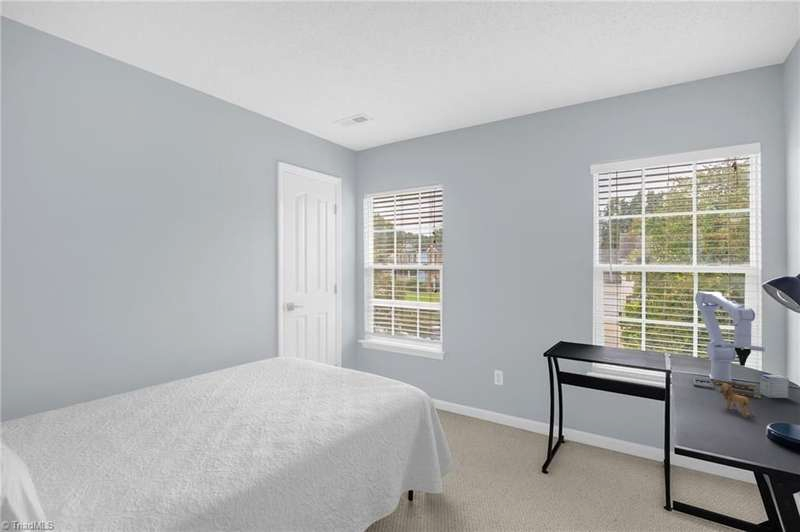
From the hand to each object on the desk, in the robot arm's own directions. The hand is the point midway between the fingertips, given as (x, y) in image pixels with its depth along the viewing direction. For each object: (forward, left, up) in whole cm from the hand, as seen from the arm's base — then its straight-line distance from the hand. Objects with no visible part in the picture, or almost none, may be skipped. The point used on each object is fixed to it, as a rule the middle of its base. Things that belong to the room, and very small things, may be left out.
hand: (742, 365), depth 174 cm
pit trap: (+5, -14, -10) cm, 18 cm away
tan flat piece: (+5, -2, -10) cm, 12 cm away
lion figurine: (+40, -6, -11) cm, 42 cm away
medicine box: (+5, +10, -11) cm, 15 cm away
